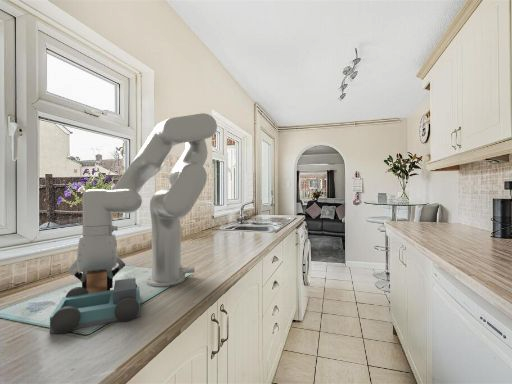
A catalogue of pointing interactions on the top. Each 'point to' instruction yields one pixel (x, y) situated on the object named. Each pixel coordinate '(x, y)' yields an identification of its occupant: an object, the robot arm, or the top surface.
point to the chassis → (96, 307)
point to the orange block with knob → (97, 281)
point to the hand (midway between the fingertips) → (97, 291)
